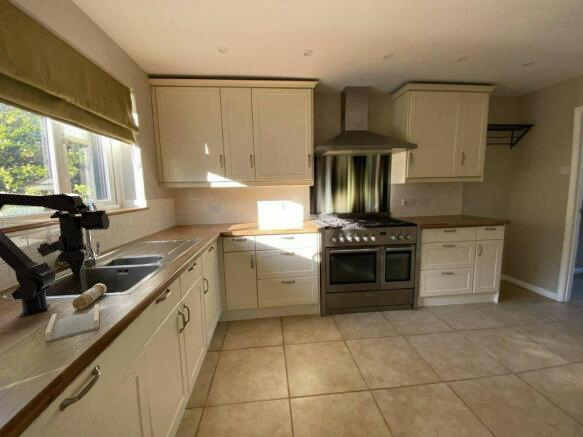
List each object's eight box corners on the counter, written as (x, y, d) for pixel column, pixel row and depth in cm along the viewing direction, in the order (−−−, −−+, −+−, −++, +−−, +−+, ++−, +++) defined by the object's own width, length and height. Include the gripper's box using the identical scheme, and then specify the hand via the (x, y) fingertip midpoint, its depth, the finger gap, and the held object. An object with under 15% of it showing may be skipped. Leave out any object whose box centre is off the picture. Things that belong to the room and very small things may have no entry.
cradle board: (53, 322, 75) (52, 314, 75) (99, 311, 81) (98, 304, 81) (45, 342, 65) (44, 333, 64) (99, 328, 71) (98, 319, 71)
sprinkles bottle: (82, 312, 83) (102, 296, 96) (90, 300, 83) (109, 286, 96) (68, 306, 82) (90, 291, 95) (76, 294, 82) (97, 280, 95)
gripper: (43, 230, 86) (48, 274, 88) (31, 237, 71) (37, 289, 73) (84, 227, 93) (88, 267, 95) (81, 233, 78) (86, 281, 80)
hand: (76, 275), depth 85 cm, fingers closed
